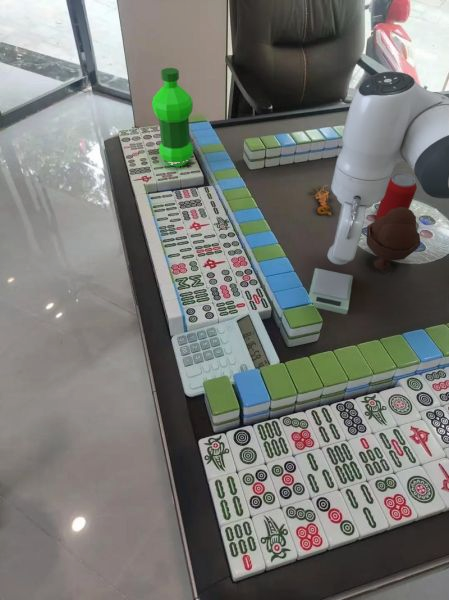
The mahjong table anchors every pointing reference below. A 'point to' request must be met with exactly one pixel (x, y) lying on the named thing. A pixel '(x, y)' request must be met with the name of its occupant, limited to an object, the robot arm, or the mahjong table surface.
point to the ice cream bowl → (393, 236)
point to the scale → (331, 290)
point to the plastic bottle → (173, 119)
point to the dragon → (323, 200)
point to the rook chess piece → (335, 260)
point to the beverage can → (397, 193)
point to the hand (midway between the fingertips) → (342, 245)
